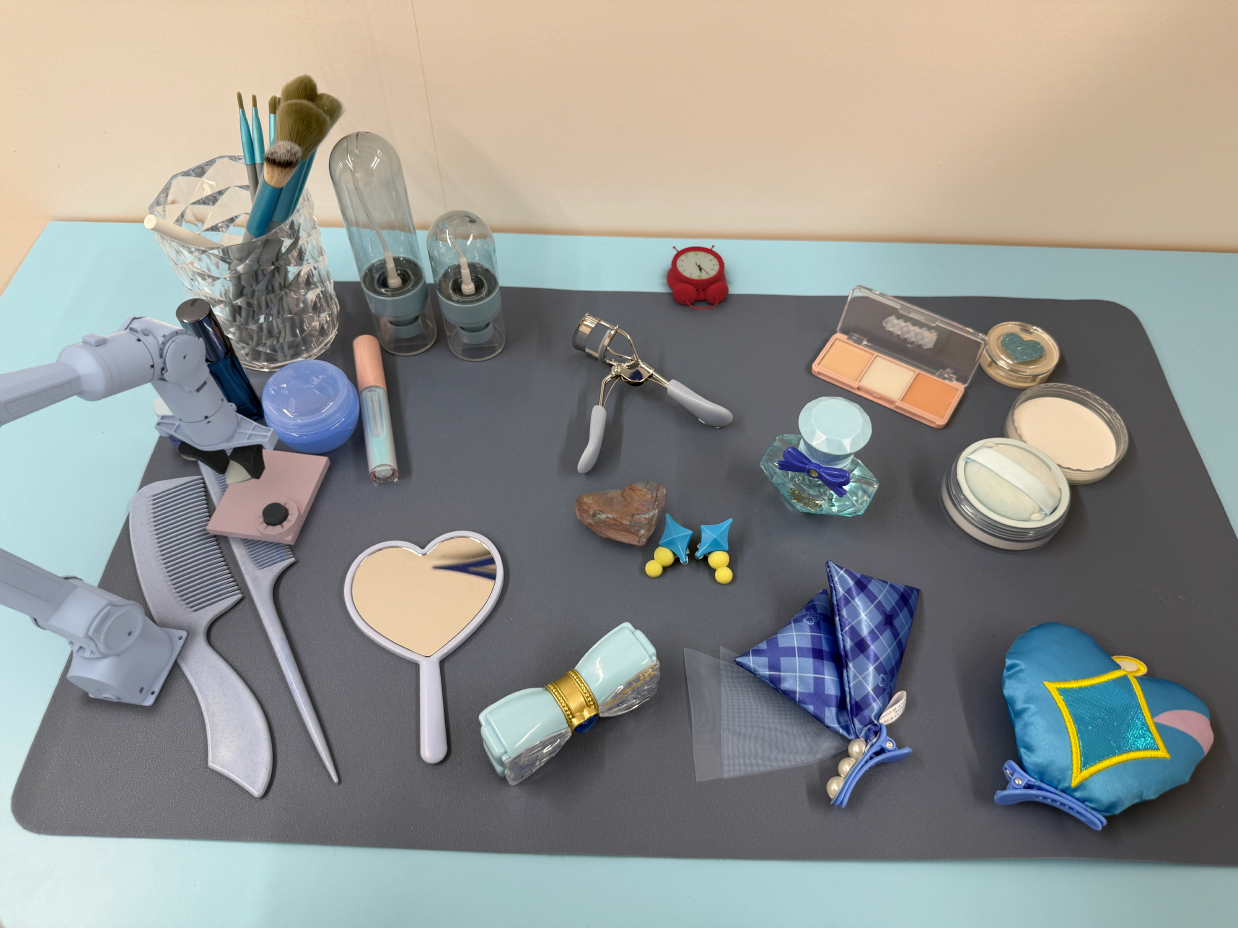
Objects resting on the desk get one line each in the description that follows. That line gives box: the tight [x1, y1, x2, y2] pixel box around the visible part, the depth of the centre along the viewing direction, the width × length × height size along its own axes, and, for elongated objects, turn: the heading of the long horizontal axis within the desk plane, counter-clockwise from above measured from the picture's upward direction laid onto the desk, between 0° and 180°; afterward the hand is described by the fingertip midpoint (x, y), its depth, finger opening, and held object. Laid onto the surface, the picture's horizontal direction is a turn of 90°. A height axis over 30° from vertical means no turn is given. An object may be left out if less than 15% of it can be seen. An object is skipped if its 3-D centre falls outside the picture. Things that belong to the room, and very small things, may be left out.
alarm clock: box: [666, 244, 729, 310], centre depth 134 cm, size 10×6×15 cm
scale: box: [205, 448, 331, 546], centre depth 108 cm, size 14×12×3 cm
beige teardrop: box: [225, 460, 254, 486], centre depth 101 cm, size 4×5×2 cm
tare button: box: [262, 502, 287, 526], centre depth 103 cm, size 3×3×2 cm
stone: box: [573, 480, 668, 547], centre depth 102 cm, size 13×8×10 cm
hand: (242, 470), depth 101 cm, fingers closed on beige teardrop, 4 cm apart
